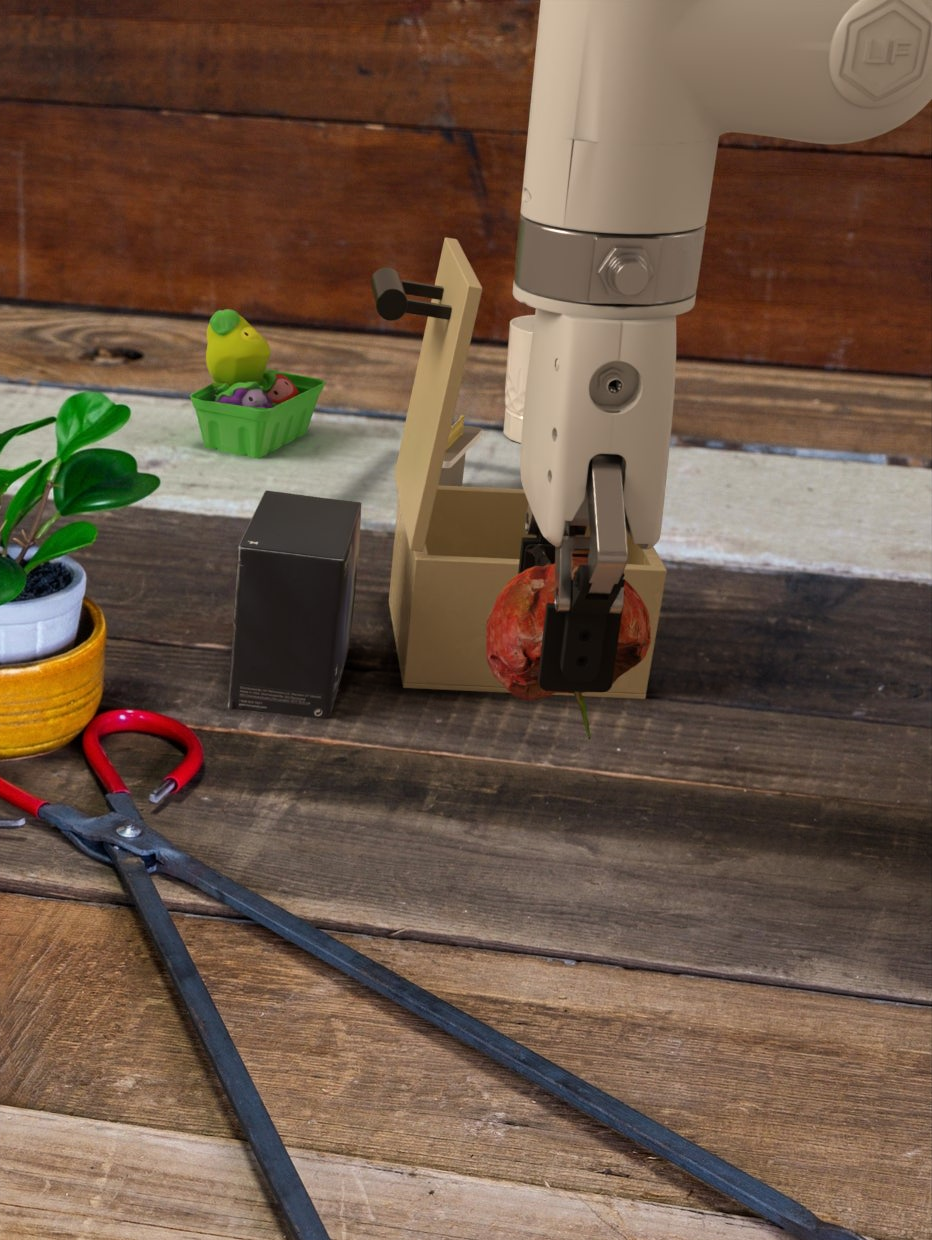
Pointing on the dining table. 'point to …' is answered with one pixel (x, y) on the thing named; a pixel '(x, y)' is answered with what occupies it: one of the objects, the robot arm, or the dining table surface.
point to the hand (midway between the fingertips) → (560, 649)
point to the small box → (294, 604)
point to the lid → (430, 375)
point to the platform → (457, 452)
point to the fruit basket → (249, 392)
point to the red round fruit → (522, 623)
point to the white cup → (517, 374)
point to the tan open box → (481, 590)
